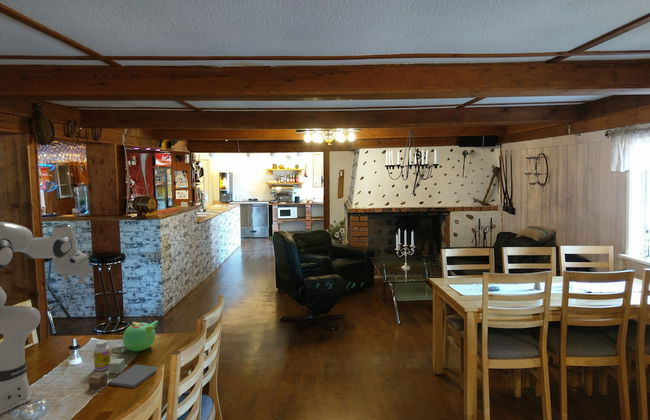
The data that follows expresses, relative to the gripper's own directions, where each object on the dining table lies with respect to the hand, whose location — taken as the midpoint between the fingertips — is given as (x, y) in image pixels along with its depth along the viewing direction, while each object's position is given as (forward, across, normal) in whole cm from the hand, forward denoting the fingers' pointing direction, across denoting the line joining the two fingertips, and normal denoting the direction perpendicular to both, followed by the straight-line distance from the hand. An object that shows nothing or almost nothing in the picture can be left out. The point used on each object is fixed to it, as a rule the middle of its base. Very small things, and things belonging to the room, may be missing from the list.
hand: (74, 281), depth 219 cm
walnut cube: (+32, +35, -27) cm, 55 cm away
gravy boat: (+41, +24, +10) cm, 49 cm away
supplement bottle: (+36, +23, -13) cm, 45 cm away
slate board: (+34, +44, -15) cm, 58 cm away
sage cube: (+36, +32, -13) cm, 50 cm away
